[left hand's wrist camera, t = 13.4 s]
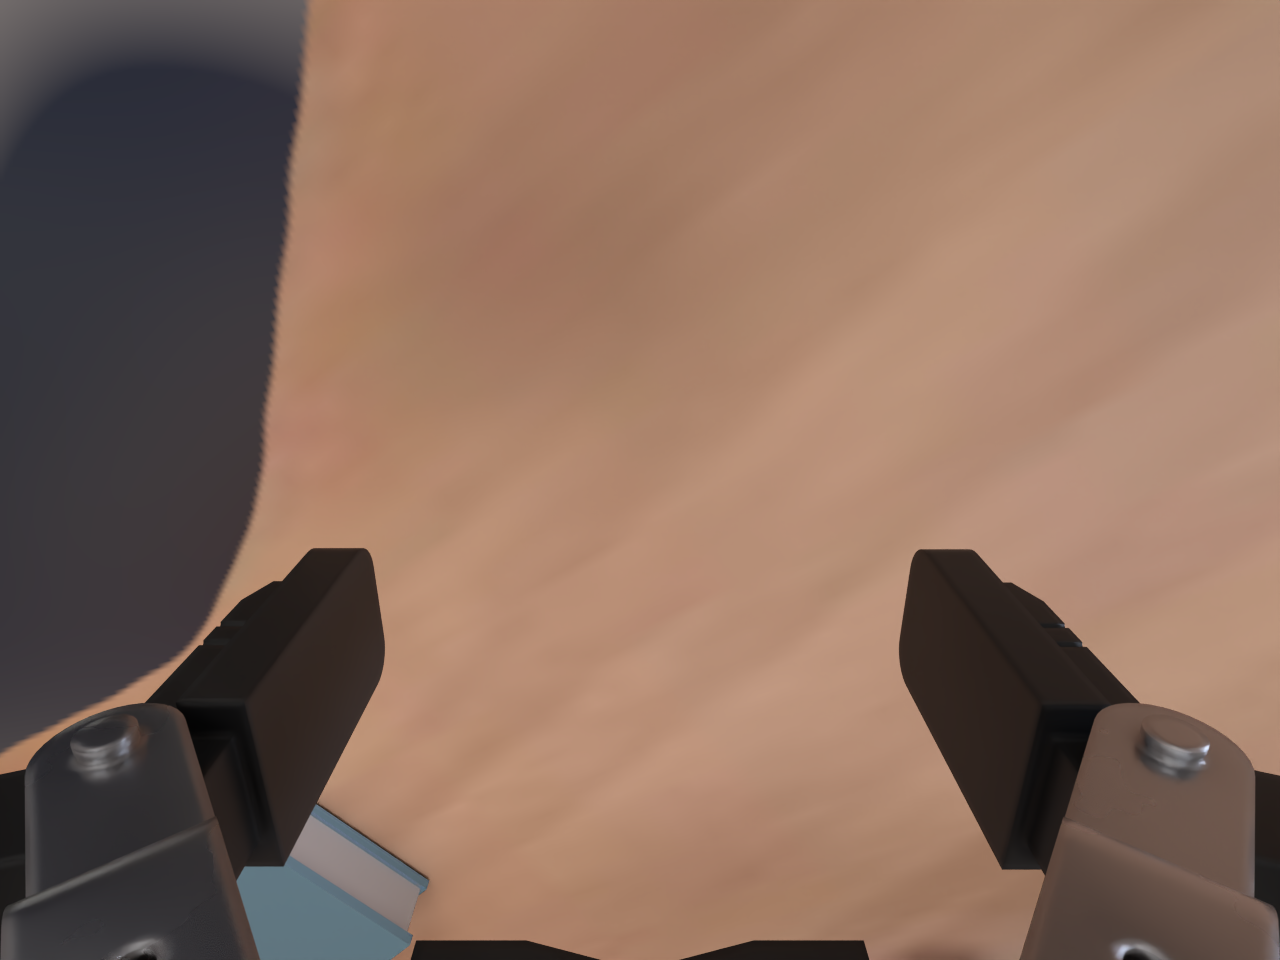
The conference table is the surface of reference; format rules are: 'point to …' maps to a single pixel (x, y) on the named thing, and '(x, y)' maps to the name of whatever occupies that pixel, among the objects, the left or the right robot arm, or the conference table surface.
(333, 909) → the book
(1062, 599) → the conference table surface
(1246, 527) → the conference table surface
